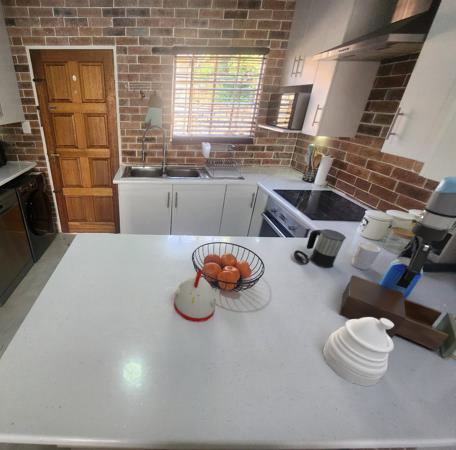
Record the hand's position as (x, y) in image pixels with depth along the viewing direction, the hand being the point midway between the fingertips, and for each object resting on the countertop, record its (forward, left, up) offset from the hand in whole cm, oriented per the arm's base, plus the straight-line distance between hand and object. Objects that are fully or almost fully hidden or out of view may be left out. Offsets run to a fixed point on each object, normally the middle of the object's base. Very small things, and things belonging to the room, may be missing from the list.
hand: (400, 277), depth 90 cm
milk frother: (+27, -6, -10) cm, 29 cm away
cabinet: (+6, +17, -9) cm, 20 cm away
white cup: (+10, -18, -10) cm, 23 cm away
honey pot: (+9, +43, -10) cm, 45 cm away
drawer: (-9, +16, -8) cm, 21 cm away
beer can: (0, 0, -10) cm, 10 cm away
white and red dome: (+53, +54, -10) cm, 76 cm away
